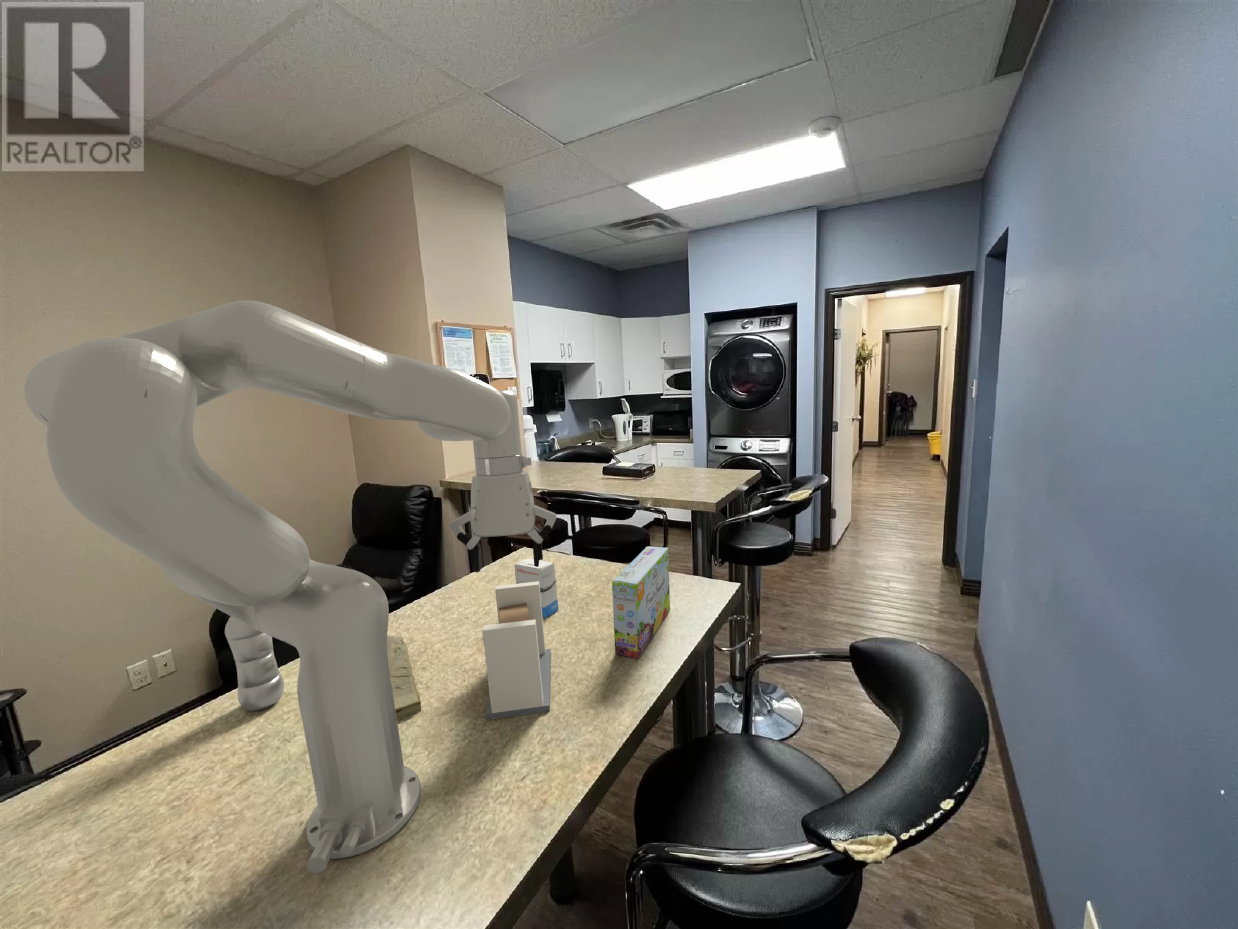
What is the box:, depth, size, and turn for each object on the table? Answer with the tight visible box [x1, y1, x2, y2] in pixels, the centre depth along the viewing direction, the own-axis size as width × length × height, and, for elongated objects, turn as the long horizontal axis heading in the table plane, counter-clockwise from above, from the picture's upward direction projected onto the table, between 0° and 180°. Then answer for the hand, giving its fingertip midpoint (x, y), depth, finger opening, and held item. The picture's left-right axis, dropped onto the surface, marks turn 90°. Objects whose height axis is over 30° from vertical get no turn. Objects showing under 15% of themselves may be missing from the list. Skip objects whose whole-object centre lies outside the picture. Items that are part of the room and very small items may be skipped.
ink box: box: [513, 557, 559, 619], centre depth 111 cm, size 8×5×12 cm, turn 58°
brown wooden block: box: [499, 603, 530, 624], centre depth 83 cm, size 12×5×4 cm, turn 16°
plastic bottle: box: [224, 616, 285, 712], centre depth 82 cm, size 6×7×20 cm
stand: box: [482, 581, 552, 721], centre depth 83 cm, size 17×10×15 cm, turn 7°
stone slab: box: [387, 635, 422, 720], centre depth 88 cm, size 12×4×30 cm
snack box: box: [611, 546, 671, 659], centre depth 99 cm, size 21×6×15 cm, turn 158°
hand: (508, 566), depth 81 cm, fingers open, 9 cm apart
